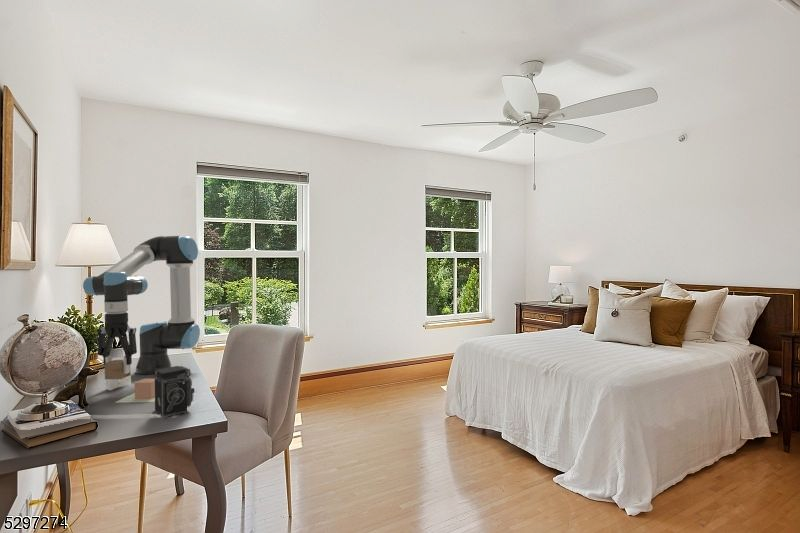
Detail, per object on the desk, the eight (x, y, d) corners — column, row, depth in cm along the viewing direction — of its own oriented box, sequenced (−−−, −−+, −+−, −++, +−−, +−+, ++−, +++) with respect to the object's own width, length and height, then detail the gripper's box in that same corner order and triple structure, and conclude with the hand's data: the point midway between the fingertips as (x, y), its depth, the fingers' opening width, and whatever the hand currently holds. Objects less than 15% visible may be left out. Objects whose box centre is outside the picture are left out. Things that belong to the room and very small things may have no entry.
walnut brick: (115, 375, 176) (114, 359, 176) (130, 375, 176) (130, 359, 176) (104, 379, 170) (104, 363, 170) (120, 379, 170) (120, 363, 170)
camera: (197, 412, 154) (196, 368, 154) (163, 420, 146) (162, 373, 146) (185, 406, 161) (185, 363, 161) (153, 413, 154) (152, 368, 154)
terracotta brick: (143, 394, 172) (143, 378, 172) (159, 394, 172) (159, 378, 173) (134, 399, 166) (134, 382, 166) (151, 398, 166) (151, 382, 167)
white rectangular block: (127, 391, 182) (127, 361, 182) (102, 393, 179) (102, 363, 179) (133, 384, 193) (133, 356, 193) (110, 386, 190) (109, 357, 190)
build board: (136, 395, 176) (136, 391, 176) (178, 394, 177) (177, 391, 177) (114, 405, 162) (114, 402, 162) (159, 405, 163) (159, 401, 163)
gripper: (84, 314, 169) (86, 376, 169) (135, 313, 169) (137, 375, 169) (97, 311, 176) (99, 371, 177) (146, 311, 176) (148, 370, 177)
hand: (117, 373), depth 173 cm, fingers closed on walnut brick, 6 cm apart
